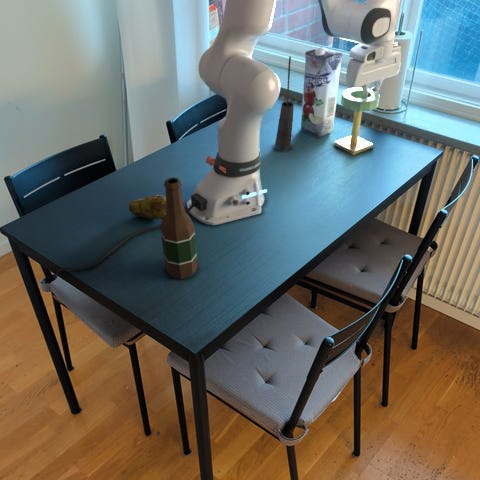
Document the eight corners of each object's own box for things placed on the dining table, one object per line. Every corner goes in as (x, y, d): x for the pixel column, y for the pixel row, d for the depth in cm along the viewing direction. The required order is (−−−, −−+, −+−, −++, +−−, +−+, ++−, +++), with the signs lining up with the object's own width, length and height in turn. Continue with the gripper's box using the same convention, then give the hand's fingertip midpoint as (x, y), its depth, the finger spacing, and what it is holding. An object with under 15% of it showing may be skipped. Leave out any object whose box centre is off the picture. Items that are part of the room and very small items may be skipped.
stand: (353, 155, 170) (358, 117, 162) (333, 144, 176) (338, 108, 167) (372, 147, 174) (379, 110, 165) (353, 137, 179) (358, 101, 171)
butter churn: (294, 157, 169) (300, 66, 150) (265, 153, 171) (268, 62, 152) (300, 145, 176) (307, 55, 156) (273, 141, 178) (276, 52, 158)
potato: (151, 204, 150) (147, 179, 144) (179, 222, 143) (176, 196, 137) (126, 215, 146) (121, 189, 140) (154, 235, 139) (150, 208, 133)
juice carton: (314, 122, 188) (322, 40, 170) (336, 132, 182) (346, 48, 164) (296, 129, 184) (302, 46, 166) (318, 139, 178) (326, 54, 160)
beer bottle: (198, 259, 131) (191, 171, 114) (197, 279, 125) (190, 189, 109) (167, 260, 131) (155, 172, 114) (164, 280, 125) (152, 190, 109)
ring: (359, 114, 160) (360, 104, 157) (334, 102, 166) (335, 93, 164) (385, 105, 164) (387, 95, 162) (359, 94, 171) (361, 84, 169)
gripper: (393, 38, 162) (385, 84, 172) (345, 51, 154) (339, 99, 163) (409, 43, 159) (400, 90, 168) (361, 57, 150) (354, 106, 160)
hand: (370, 95), depth 166 cm, fingers closed on ring, 2 cm apart
